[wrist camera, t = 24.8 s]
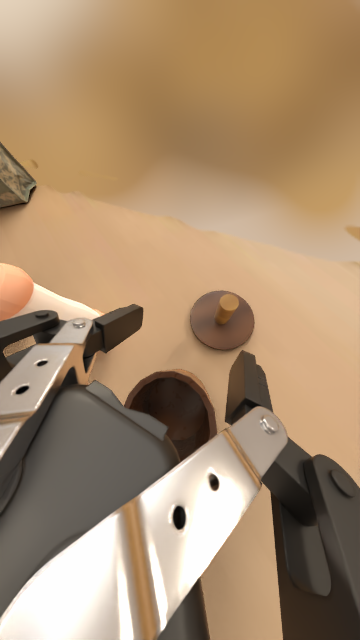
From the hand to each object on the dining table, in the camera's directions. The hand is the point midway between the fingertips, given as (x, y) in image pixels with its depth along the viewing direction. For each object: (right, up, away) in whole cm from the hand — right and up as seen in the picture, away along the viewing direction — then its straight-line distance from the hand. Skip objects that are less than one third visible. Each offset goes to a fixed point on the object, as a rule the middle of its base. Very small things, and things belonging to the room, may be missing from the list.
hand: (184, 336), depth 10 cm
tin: (-1, -14, +14) cm, 19 cm away
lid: (+8, +1, +17) cm, 19 cm away
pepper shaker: (-19, -1, +21) cm, 28 cm away
